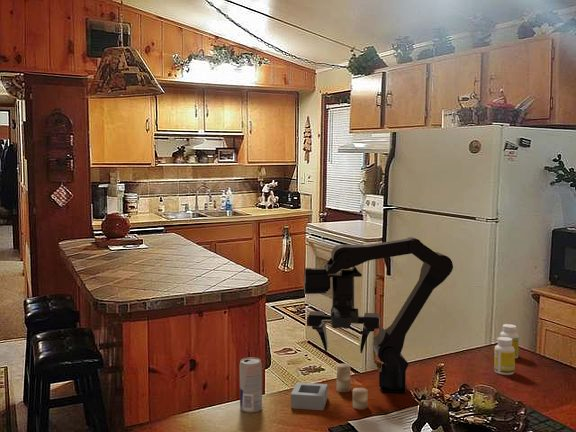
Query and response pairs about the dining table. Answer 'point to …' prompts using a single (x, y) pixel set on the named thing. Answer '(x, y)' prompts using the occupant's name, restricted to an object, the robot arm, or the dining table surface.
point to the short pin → (359, 398)
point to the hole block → (309, 396)
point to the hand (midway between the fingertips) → (343, 351)
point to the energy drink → (250, 385)
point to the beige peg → (343, 377)
